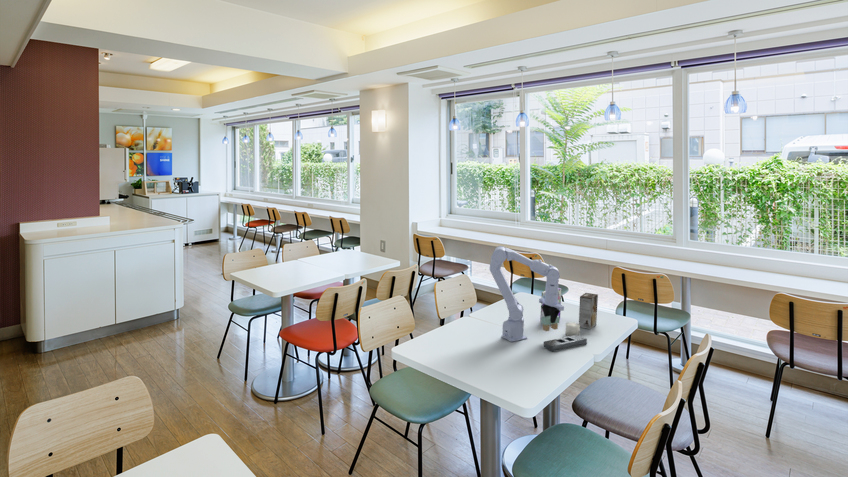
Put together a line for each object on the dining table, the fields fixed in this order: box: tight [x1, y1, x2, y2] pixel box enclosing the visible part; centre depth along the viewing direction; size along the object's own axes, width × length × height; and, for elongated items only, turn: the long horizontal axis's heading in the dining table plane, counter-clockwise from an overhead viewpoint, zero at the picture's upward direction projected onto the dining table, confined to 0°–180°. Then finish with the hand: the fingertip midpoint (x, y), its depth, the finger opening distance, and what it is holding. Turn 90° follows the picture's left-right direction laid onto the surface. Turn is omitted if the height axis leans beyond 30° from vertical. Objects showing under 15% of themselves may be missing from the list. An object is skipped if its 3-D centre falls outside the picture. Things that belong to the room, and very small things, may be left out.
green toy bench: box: [540, 316, 561, 332], centre depth 214 cm, size 8×3×6 cm, turn 116°
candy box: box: [539, 287, 562, 323], centre depth 243 cm, size 14×6×16 cm, turn 143°
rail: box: [543, 334, 588, 353], centre depth 209 cm, size 20×6×2 cm, turn 116°
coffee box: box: [578, 292, 599, 330], centre depth 234 cm, size 9×6×16 cm
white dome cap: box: [564, 322, 581, 337], centre depth 223 cm, size 6×6×5 cm
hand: (550, 321), depth 214 cm, fingers closed on green toy bench, 3 cm apart
